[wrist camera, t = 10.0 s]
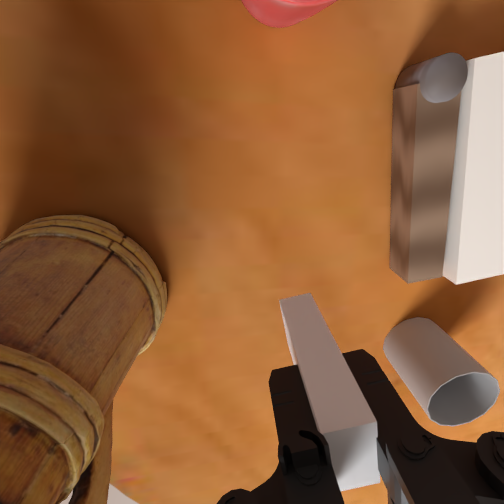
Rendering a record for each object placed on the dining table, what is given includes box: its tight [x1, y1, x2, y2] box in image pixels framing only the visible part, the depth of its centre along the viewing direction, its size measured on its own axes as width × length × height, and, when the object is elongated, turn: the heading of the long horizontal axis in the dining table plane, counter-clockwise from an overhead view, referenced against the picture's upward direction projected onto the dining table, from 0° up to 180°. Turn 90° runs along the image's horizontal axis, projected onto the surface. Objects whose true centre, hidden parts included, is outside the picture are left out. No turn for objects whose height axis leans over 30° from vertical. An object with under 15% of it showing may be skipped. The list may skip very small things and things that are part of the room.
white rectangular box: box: [443, 52, 504, 285], centre depth 31 cm, size 22×10×5 cm, turn 12°
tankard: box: [0, 215, 167, 504], centre depth 24 cm, size 18×24×25 cm
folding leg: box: [390, 53, 468, 283], centre depth 30 cm, size 22×4×5 cm, turn 10°
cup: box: [383, 317, 500, 426], centre depth 38 cm, size 8×8×10 cm
